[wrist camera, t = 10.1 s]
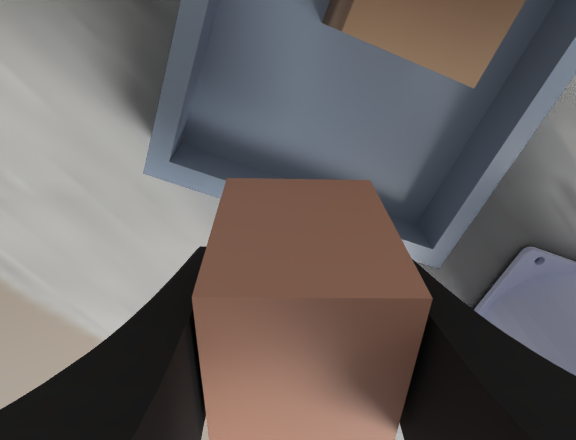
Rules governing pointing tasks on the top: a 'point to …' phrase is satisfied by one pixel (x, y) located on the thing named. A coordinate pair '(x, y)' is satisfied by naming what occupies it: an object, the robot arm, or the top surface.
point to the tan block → (430, 31)
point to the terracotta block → (306, 313)
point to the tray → (353, 110)
